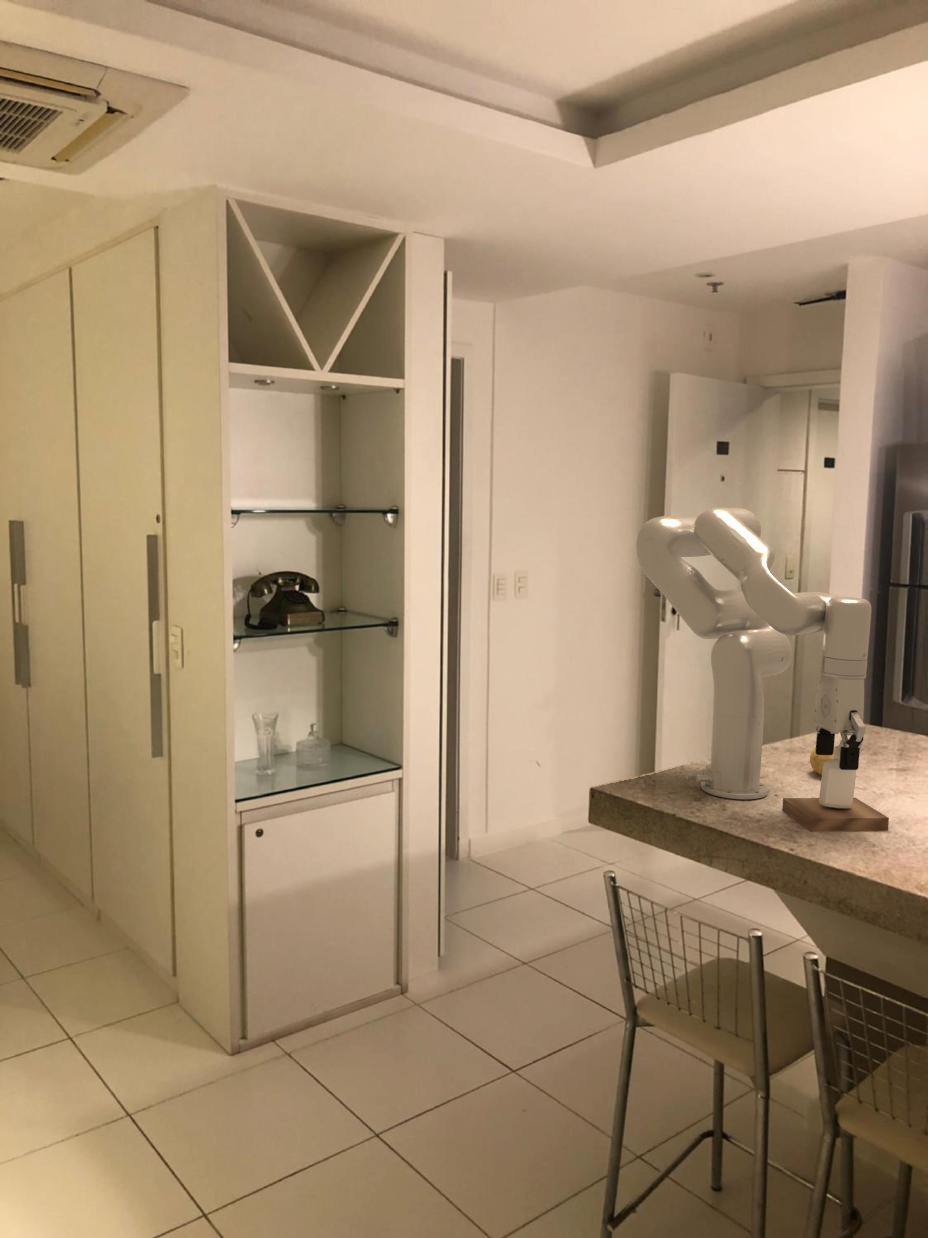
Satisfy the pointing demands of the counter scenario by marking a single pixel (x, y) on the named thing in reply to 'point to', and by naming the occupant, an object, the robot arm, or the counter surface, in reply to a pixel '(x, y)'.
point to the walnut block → (834, 816)
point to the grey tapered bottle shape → (837, 783)
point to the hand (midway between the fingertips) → (836, 761)
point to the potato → (819, 761)
